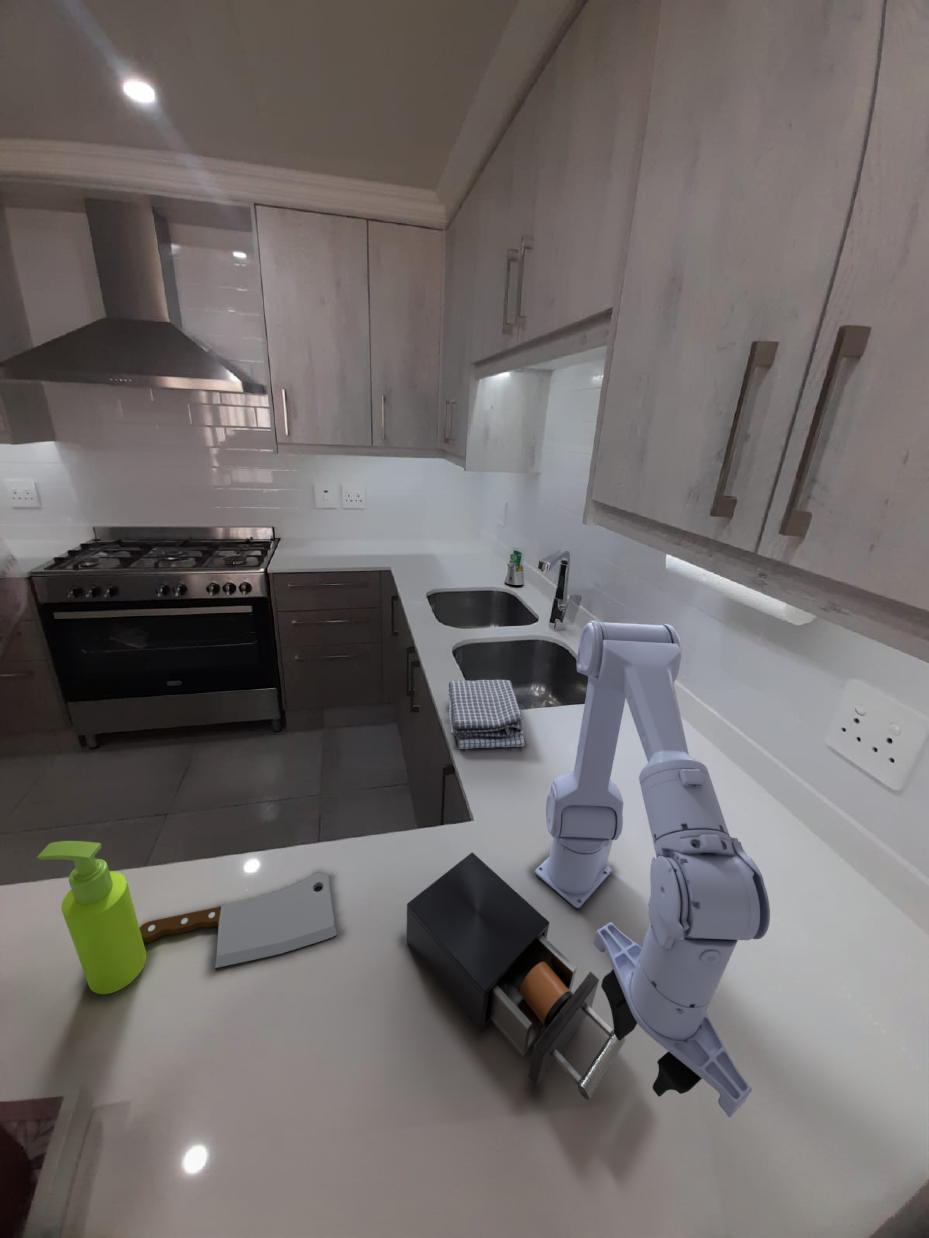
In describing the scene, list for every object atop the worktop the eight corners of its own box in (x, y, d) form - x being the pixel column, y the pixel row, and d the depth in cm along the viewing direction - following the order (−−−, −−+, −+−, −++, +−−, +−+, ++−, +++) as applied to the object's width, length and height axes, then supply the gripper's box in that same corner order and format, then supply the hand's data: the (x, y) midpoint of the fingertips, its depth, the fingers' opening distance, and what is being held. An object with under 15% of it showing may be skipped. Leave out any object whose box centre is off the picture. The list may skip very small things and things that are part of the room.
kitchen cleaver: (121, 990, 56) (144, 907, 65) (123, 994, 57) (146, 912, 65) (337, 937, 64) (332, 869, 72) (337, 941, 64) (333, 873, 72)
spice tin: (551, 960, 59) (580, 994, 56) (530, 993, 58) (558, 1028, 55) (535, 960, 56) (565, 996, 53) (512, 995, 55) (541, 1033, 52)
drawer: (627, 1044, 54) (637, 1014, 52) (574, 1131, 48) (583, 1101, 45) (511, 930, 65) (515, 901, 63) (454, 988, 59) (456, 958, 56)
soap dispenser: (100, 942, 62) (62, 824, 54) (156, 944, 62) (126, 827, 54) (66, 993, 56) (18, 871, 48) (128, 995, 57) (90, 874, 49)
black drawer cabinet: (542, 960, 63) (549, 922, 60) (479, 1032, 55) (484, 992, 52) (469, 888, 72) (472, 851, 68) (406, 941, 64) (406, 903, 61)
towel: (508, 700, 117) (511, 672, 114) (525, 750, 101) (529, 719, 97) (445, 701, 115) (447, 673, 112) (452, 752, 99) (454, 721, 96)
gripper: (794, 1033, 36) (741, 1122, 42) (641, 877, 47) (616, 963, 53) (736, 1092, 33) (687, 1180, 38) (587, 909, 44) (566, 997, 50)
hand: (642, 1057), depth 45 cm, fingers open, 4 cm apart
